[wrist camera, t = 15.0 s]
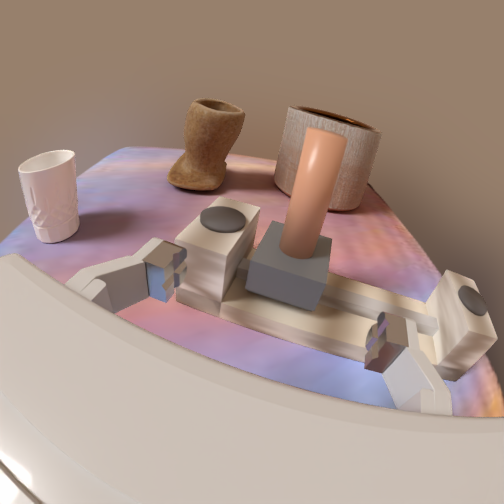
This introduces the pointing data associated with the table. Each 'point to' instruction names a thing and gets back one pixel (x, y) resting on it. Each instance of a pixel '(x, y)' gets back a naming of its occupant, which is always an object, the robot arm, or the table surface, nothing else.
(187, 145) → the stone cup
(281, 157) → the planter
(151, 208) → the table surface
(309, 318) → the rail track
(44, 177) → the white cup
